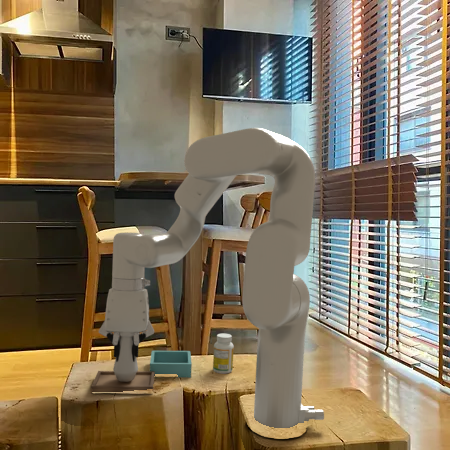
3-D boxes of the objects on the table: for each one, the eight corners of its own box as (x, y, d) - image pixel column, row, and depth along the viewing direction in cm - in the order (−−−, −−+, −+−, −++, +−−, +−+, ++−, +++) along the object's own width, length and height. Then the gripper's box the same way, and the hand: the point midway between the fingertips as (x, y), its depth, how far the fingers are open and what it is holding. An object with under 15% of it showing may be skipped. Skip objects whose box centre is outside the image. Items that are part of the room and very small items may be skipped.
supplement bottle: (222, 375, 127) (223, 339, 127) (208, 369, 131) (210, 334, 131) (236, 371, 131) (238, 336, 130) (223, 365, 135) (224, 331, 134)
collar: (189, 363, 135) (190, 351, 135) (191, 377, 125) (191, 364, 125) (151, 363, 134) (151, 350, 134) (149, 377, 124) (149, 363, 123)
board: (154, 378, 123) (154, 371, 123) (152, 394, 113) (152, 386, 113) (98, 377, 122) (98, 370, 122) (91, 394, 112) (91, 386, 112)
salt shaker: (134, 383, 114) (136, 329, 114) (110, 382, 114) (112, 328, 114) (139, 374, 120) (141, 323, 119) (116, 373, 120) (118, 321, 120)
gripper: (163, 282, 121) (160, 355, 122) (95, 281, 119) (93, 354, 120) (162, 288, 113) (159, 365, 114) (90, 286, 111) (88, 365, 112)
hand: (125, 359), depth 117 cm, fingers closed on salt shaker, 3 cm apart
